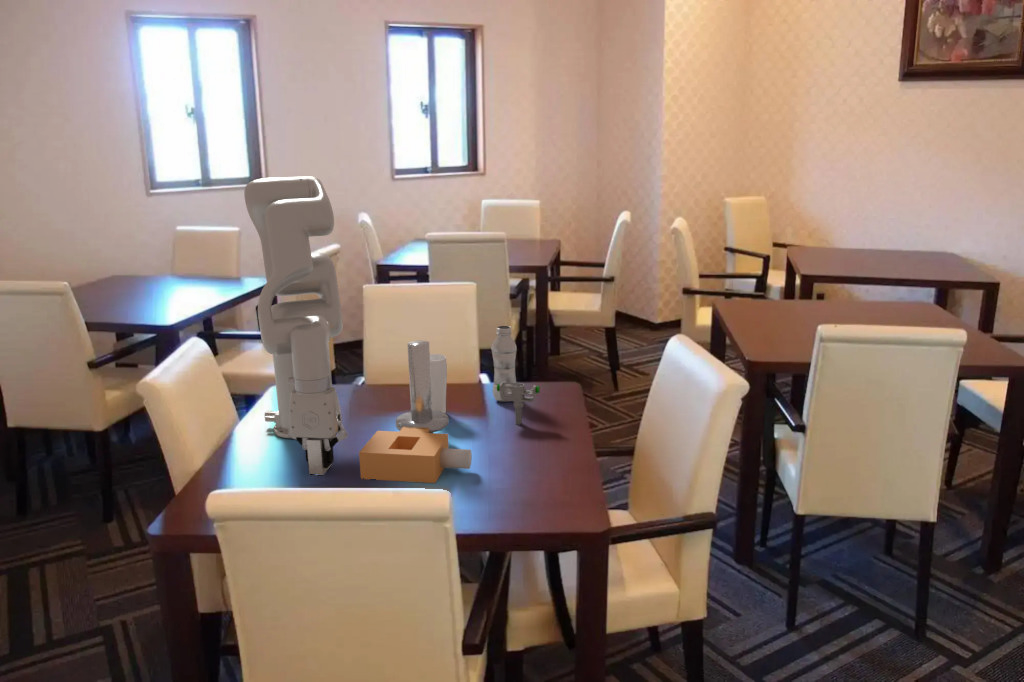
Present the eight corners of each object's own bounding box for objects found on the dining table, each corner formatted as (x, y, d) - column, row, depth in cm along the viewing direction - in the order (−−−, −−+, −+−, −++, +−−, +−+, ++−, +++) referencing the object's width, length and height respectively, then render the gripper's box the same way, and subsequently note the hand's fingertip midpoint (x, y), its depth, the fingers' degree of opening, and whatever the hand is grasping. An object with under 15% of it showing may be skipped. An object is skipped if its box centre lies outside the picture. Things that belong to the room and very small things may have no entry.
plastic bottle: (518, 404, 210) (516, 330, 204) (492, 404, 210) (490, 330, 205) (518, 396, 216) (517, 324, 211) (493, 396, 216) (491, 324, 211)
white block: (309, 475, 170) (306, 439, 168) (318, 465, 175) (315, 430, 173) (323, 475, 170) (320, 440, 168) (331, 466, 174) (329, 431, 172)
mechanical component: (538, 426, 194) (538, 387, 192) (497, 424, 196) (496, 385, 194) (540, 422, 197) (540, 383, 195) (499, 420, 199) (498, 381, 197)
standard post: (390, 452, 181) (384, 350, 174) (405, 432, 192) (400, 335, 186) (442, 455, 179) (437, 351, 173) (454, 434, 190) (450, 337, 184)
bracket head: (360, 478, 168) (358, 452, 166) (383, 450, 182) (381, 425, 181) (464, 484, 164) (463, 457, 163) (478, 455, 179) (477, 429, 177)
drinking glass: (427, 420, 200) (425, 362, 196) (417, 412, 205) (415, 356, 201) (452, 415, 203) (450, 358, 199) (442, 407, 208) (440, 352, 204)
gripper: (268, 387, 165) (276, 470, 170) (344, 390, 162) (350, 474, 167) (284, 376, 172) (291, 456, 177) (357, 379, 169) (362, 459, 174)
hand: (320, 464), depth 172 cm, fingers closed on white block, 2 cm apart
